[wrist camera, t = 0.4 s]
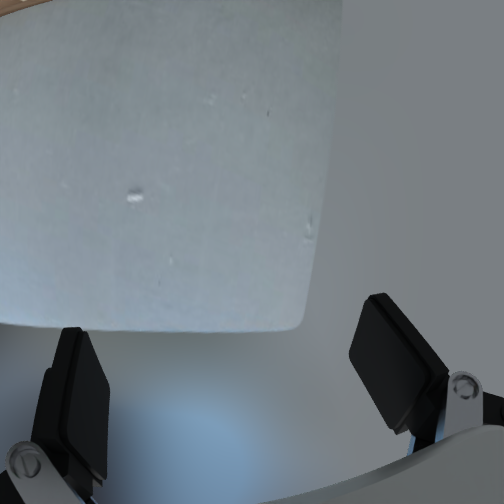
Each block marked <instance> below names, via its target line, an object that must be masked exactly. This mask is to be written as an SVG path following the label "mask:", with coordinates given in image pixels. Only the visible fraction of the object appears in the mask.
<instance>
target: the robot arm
mask: <svg viewBox="0 0 504 504" xmlns="http://www.w3.org/2000/svg"><path fill="white" fill-rule="evenodd" d="M349 358H350V361H351V363H352V365H353V366H354V368H355V370H356V371H357V373H358V375H359V377H360V378H361V380H362V382H363V384H364V385H365V387H366V389H367V391H368V392H369V394H370V396H371V398H372V399H373V401H374V403H375V405H376V406H377V408H378V410H379V412H380V414H381V415H382V417H383V419H384V421H385V422H386V424H387V426H388V427H389V428H390V429H393V430H394V432H395V434H396V435H398V434H400V433H402V432H405V431H407V430H408V429H409V430H410V432H411V434H412V435H411V439H410V444H409V448H408V453H407V456H406V457H404V458H402V459H400V460H397V461H395V462H393V463H390V464H388V465H385V466H383V467H381V468H378V469H376V470H373V471H371V472H368V473H365V474H363V475H360V476H357V477H354V478H351V479H349V480H346V481H343V482H340V483H337V484H333V485H330V486H327V487H324V488H320V489H317V490H314V491H310V492H307V493H303V494H299V495H295V496H291V497H287V498H283V499H278V500H274V501H269V502H264V503H259V504H504V398H503V397H499V396H496V395H493V394H489V393H486V392H483V390H482V386H481V384H480V382H479V380H478V379H477V378H476V377H475V376H473V375H472V374H470V373H468V372H464V371H459V372H455V373H453V374H452V375H451V376H449V375H448V372H449V370H448V368H447V367H446V366H445V364H444V363H443V362H442V361H441V359H440V358H439V357H438V355H437V354H436V353H435V352H434V350H433V349H432V348H431V346H430V345H429V344H428V343H427V341H426V340H425V339H424V338H423V337H422V335H421V334H420V333H419V332H418V330H417V329H416V328H415V327H414V325H413V324H412V323H411V322H410V321H409V320H408V318H407V317H406V316H405V315H404V314H403V312H402V311H401V310H400V309H399V307H398V306H397V305H396V304H395V303H394V302H393V300H392V299H391V298H390V297H389V296H388V295H387V294H386V293H379V294H374V295H370V296H369V297H368V299H367V300H366V301H365V303H364V305H363V309H362V312H361V315H360V319H359V322H358V326H357V328H356V332H355V335H354V338H353V341H352V344H351V347H350V350H349ZM109 398H110V387H109V383H108V381H107V379H106V376H105V374H104V372H103V370H102V367H101V365H100V363H99V360H98V358H97V355H96V353H95V351H94V348H93V346H92V343H91V341H90V338H89V335H88V333H87V332H86V331H82V329H81V328H80V327H68V328H63V330H62V332H61V336H60V339H59V342H58V346H57V349H56V353H55V357H54V360H53V364H52V368H48V369H47V370H46V372H45V374H44V379H43V382H42V387H41V391H40V395H39V399H38V404H37V409H36V414H35V419H34V425H33V430H32V435H31V441H21V442H18V443H16V444H14V445H13V446H12V447H11V448H10V449H9V451H8V452H7V455H6V459H5V467H6V470H5V471H3V472H2V473H1V474H0V504H97V502H96V501H95V500H94V499H93V498H92V495H93V487H102V480H106V478H107V440H108V437H107V436H108V415H109V400H110V399H109Z"/></svg>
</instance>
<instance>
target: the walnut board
mask: <svg viewBox="0 0 504 504" xmlns="http://www.w3.org/2000/svg"><path fill="white" fill-rule="evenodd" d="M48 1H52V0H0V17H1V16H4V15H7V14H10V13H12V12H15V11H18V10H21V9H25V8H28V7H31V6H34V5H38V4H41V3H45V2H48Z"/></svg>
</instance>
